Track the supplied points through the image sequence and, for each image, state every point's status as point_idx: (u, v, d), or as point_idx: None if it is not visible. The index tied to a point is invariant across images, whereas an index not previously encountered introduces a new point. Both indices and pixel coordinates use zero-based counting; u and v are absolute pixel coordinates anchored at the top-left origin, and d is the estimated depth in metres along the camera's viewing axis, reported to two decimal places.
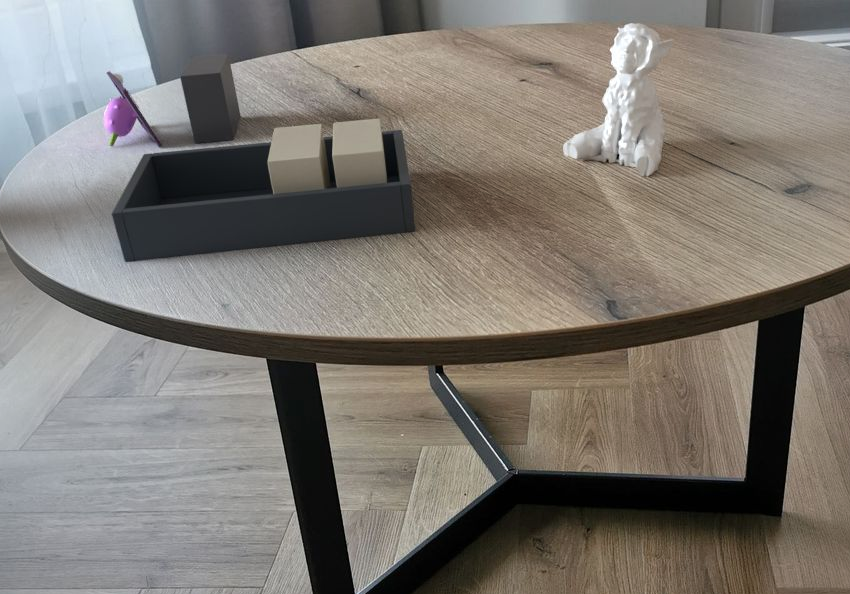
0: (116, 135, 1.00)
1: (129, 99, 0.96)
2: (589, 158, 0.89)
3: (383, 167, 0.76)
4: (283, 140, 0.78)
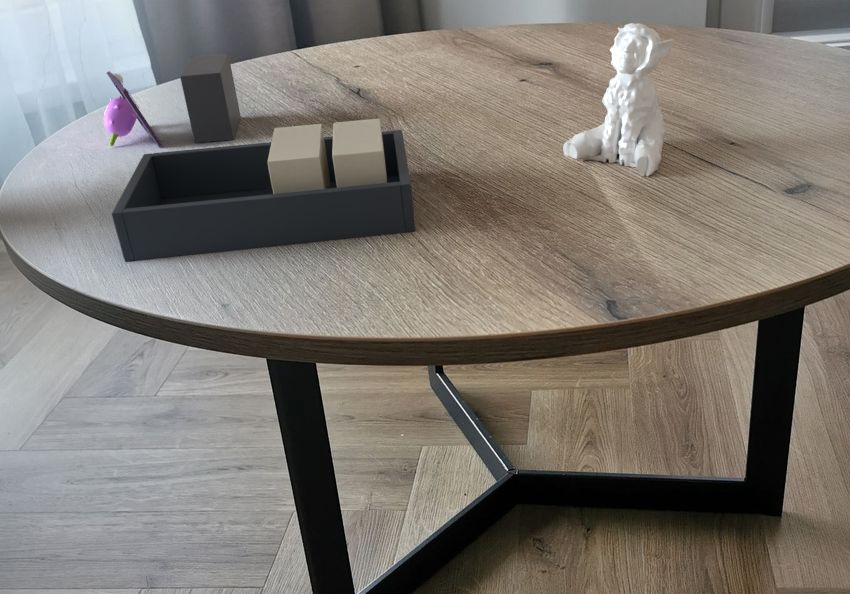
0: (116, 135, 1.00)
1: (129, 99, 0.96)
2: (589, 158, 0.89)
3: (383, 167, 0.76)
4: (283, 140, 0.78)
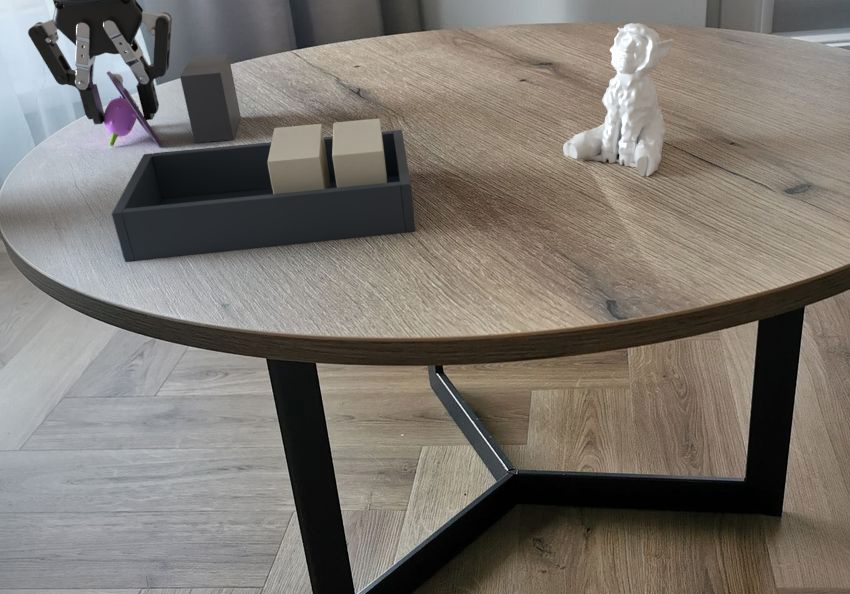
0: (116, 135, 1.00)
1: (129, 99, 0.96)
2: (589, 158, 0.89)
3: (383, 167, 0.76)
4: (283, 140, 0.78)
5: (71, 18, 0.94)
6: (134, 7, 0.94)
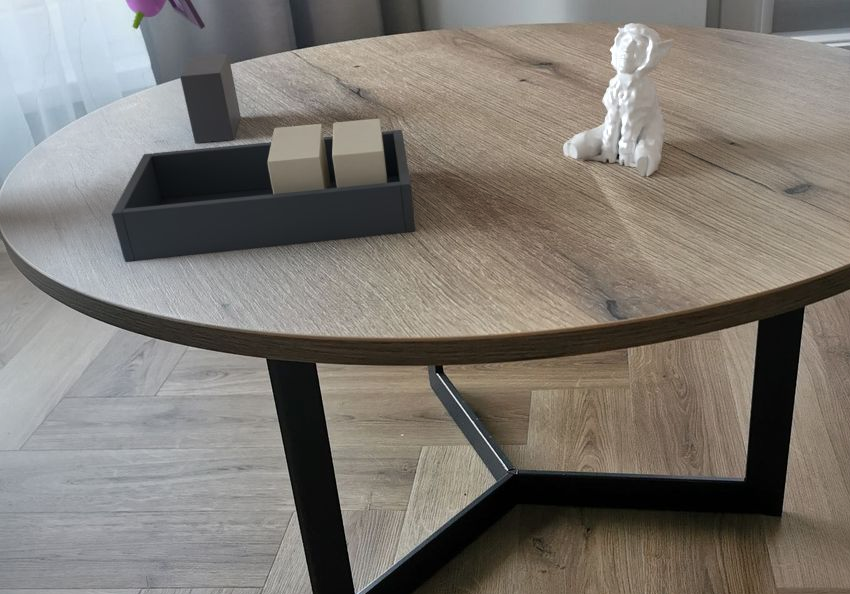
0: (142, 14, 0.74)
1: None
2: (589, 158, 0.89)
3: (383, 167, 0.76)
4: (283, 140, 0.78)
5: None
6: None
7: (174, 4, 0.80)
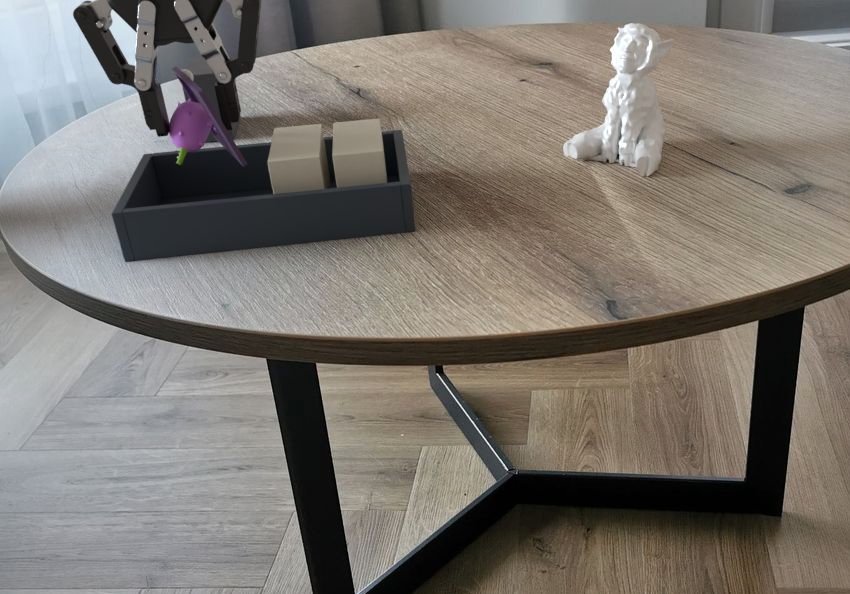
0: (186, 150, 0.76)
1: (207, 103, 0.72)
2: (589, 158, 0.89)
3: (383, 167, 0.76)
4: (283, 140, 0.78)
5: None
6: None
7: (215, 132, 0.81)
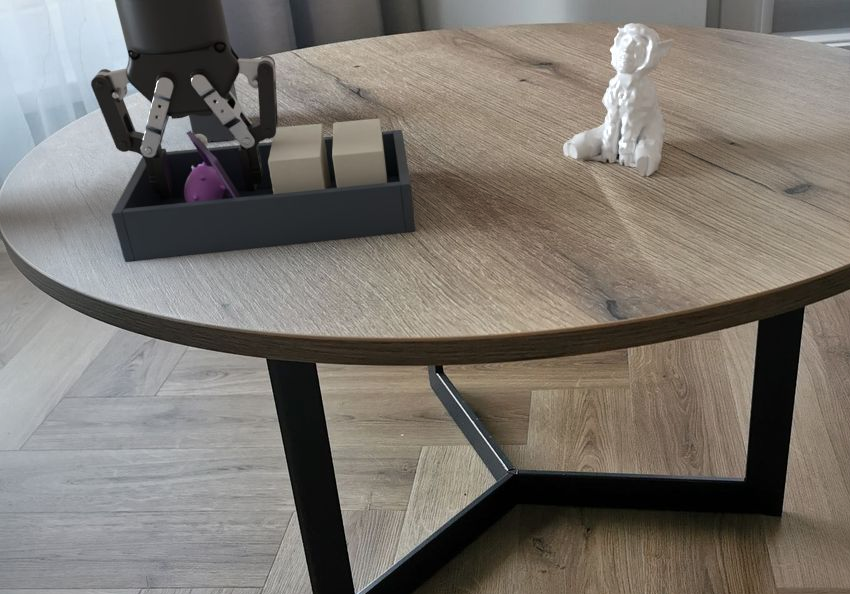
0: None
1: (221, 172, 0.74)
2: (589, 158, 0.89)
3: (383, 167, 0.76)
4: (284, 140, 0.78)
5: (150, 71, 0.73)
6: (228, 56, 0.73)
7: (227, 191, 0.84)
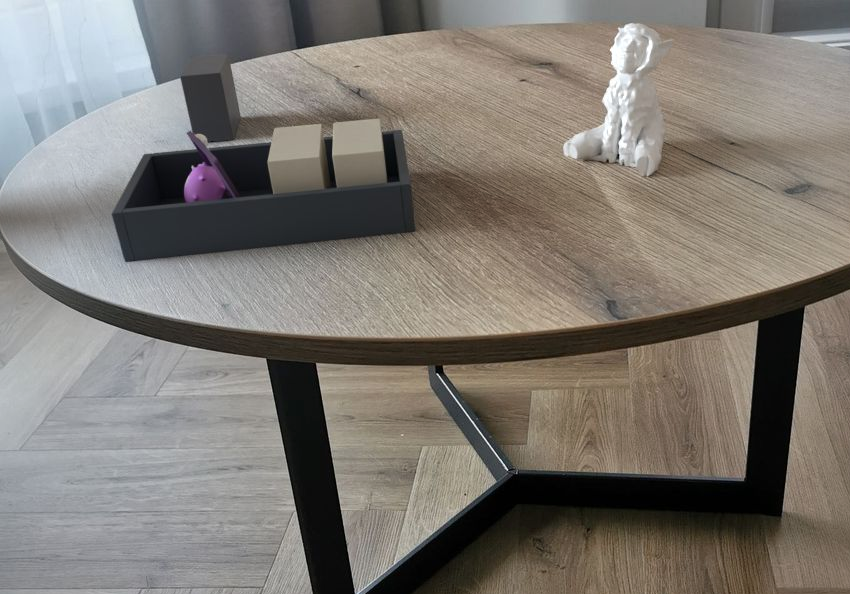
0: None
1: (222, 172, 0.74)
2: (589, 158, 0.89)
3: (383, 167, 0.76)
4: (283, 140, 0.78)
5: None
6: None
7: (227, 191, 0.84)
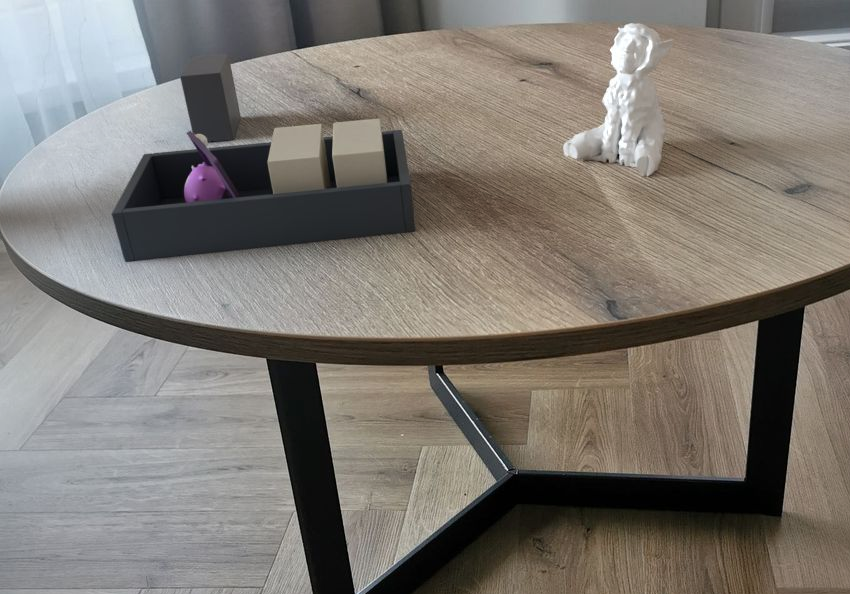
0: None
1: (221, 172, 0.74)
2: (589, 158, 0.89)
3: (383, 167, 0.76)
4: (283, 140, 0.78)
5: None
6: None
7: (227, 191, 0.84)
